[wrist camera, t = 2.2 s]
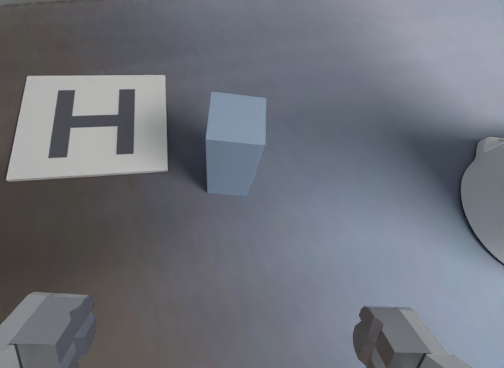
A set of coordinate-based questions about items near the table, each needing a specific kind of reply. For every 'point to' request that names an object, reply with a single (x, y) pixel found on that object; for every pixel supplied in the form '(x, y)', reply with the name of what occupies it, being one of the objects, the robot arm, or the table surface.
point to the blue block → (234, 142)
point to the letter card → (90, 127)
